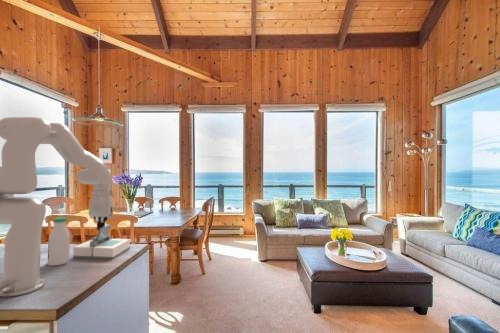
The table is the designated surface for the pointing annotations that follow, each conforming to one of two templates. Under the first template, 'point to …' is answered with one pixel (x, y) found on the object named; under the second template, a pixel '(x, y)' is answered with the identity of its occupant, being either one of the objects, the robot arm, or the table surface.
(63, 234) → the milk bottle
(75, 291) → the table surface
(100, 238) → the lock flap
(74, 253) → the white boxy piece
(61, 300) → the table surface
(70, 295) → the table surface
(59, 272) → the table surface
